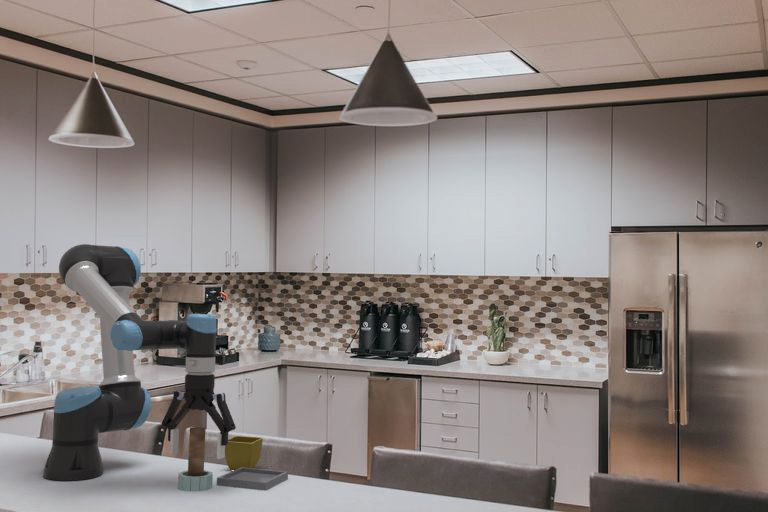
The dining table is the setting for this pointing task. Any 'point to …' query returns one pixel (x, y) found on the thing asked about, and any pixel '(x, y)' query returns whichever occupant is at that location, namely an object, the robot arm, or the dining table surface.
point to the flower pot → (243, 452)
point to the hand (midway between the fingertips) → (197, 456)
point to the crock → (195, 481)
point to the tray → (252, 478)
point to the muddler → (196, 451)
